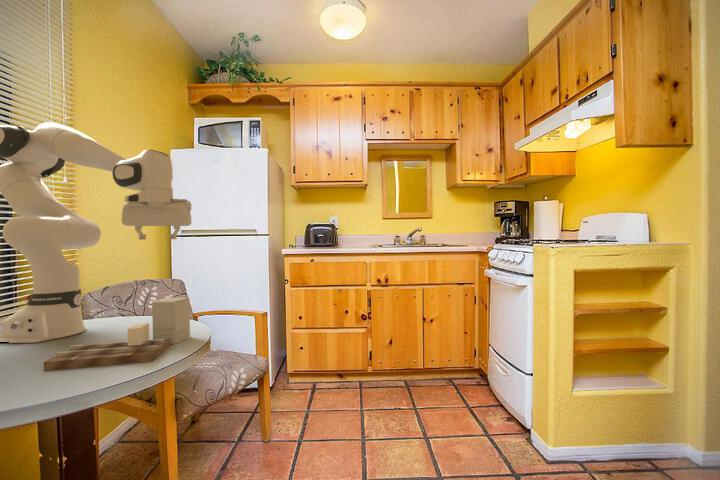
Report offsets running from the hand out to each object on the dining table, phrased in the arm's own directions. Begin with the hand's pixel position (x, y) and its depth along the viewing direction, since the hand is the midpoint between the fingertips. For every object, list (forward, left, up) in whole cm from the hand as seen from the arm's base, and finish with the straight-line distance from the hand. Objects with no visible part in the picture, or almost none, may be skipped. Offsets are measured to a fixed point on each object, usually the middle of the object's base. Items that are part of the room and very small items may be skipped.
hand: (158, 239), depth 107 cm
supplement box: (+8, -12, -31) cm, 34 cm away
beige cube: (+4, -24, -29) cm, 38 cm away
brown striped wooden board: (-2, -24, -31) cm, 39 cm away
